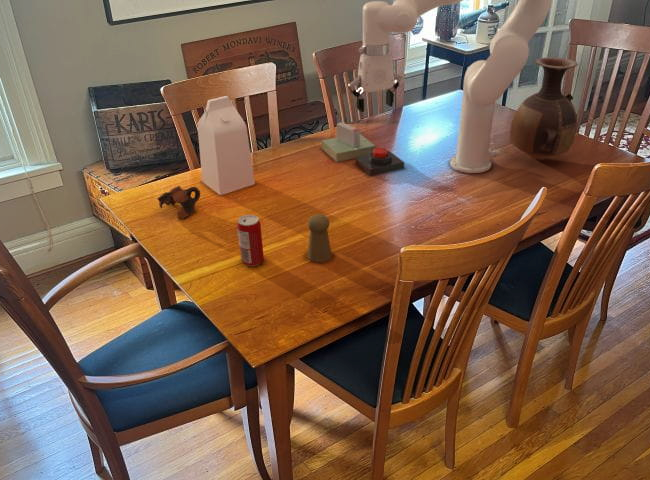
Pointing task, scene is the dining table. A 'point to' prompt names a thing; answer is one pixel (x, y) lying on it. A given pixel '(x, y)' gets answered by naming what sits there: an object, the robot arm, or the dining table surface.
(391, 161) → the button block
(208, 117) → the milk
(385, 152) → the tap button
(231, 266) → the dining table surface
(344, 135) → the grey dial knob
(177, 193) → the brown animal figurine
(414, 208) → the dining table surface
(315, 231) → the brown pawn
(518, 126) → the vase
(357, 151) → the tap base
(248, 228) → the soda can
